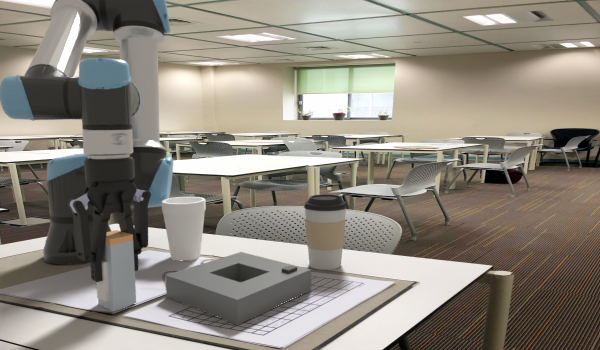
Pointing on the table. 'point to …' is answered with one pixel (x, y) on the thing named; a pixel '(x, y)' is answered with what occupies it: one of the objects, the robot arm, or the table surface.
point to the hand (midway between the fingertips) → (116, 294)
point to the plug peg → (119, 270)
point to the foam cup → (184, 226)
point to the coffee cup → (325, 230)
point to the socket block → (238, 286)
